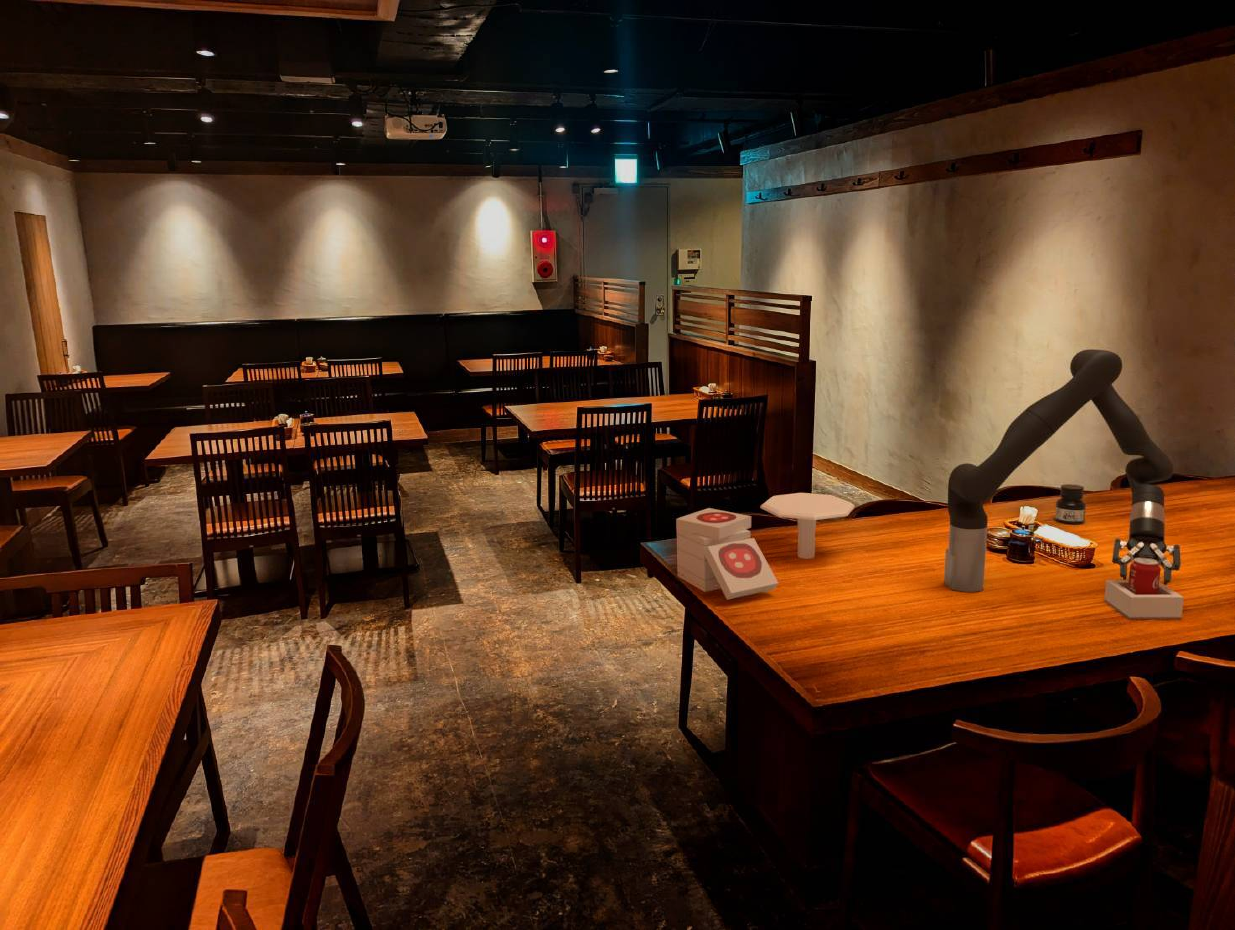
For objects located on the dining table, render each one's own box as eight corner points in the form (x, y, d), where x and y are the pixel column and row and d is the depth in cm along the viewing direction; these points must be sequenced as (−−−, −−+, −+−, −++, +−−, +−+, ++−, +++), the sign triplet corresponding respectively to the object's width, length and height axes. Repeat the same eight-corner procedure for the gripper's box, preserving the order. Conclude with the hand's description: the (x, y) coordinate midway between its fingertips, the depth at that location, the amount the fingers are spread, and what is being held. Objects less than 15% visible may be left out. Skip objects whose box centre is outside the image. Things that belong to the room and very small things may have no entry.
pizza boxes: (725, 608, 217) (724, 541, 214) (668, 575, 244) (667, 514, 240) (785, 595, 225) (786, 530, 222) (724, 564, 252) (724, 505, 248)
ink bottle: (1051, 522, 284) (1054, 487, 281) (1055, 516, 291) (1058, 482, 288) (1084, 526, 278) (1087, 491, 276) (1087, 520, 285) (1090, 485, 283)
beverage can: (1160, 612, 205) (1165, 565, 203) (1131, 611, 206) (1137, 564, 204) (1149, 603, 211) (1155, 557, 209) (1122, 601, 213) (1127, 556, 210)
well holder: (1129, 619, 203) (1131, 597, 202) (1104, 600, 215) (1106, 580, 214) (1181, 618, 202) (1183, 597, 201) (1153, 600, 214) (1155, 579, 213)
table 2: (817, 578, 237) (818, 521, 234) (740, 556, 258) (740, 503, 254) (872, 555, 255) (874, 502, 252) (797, 537, 276) (797, 487, 272)
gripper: (1115, 513, 214) (1112, 570, 207) (1182, 519, 207) (1182, 578, 200) (1113, 527, 220) (1110, 583, 212) (1178, 534, 213) (1177, 592, 206)
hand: (1145, 580), depth 206 cm, fingers open, 8 cm apart
